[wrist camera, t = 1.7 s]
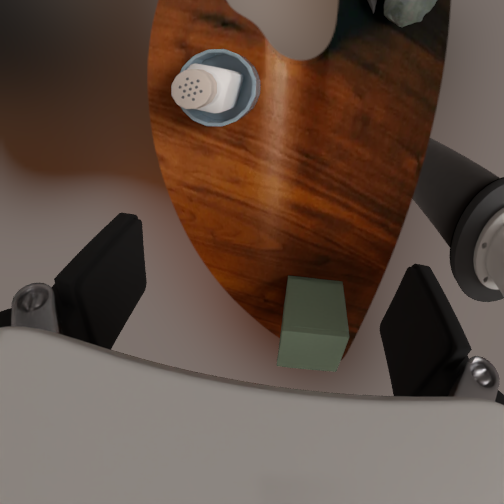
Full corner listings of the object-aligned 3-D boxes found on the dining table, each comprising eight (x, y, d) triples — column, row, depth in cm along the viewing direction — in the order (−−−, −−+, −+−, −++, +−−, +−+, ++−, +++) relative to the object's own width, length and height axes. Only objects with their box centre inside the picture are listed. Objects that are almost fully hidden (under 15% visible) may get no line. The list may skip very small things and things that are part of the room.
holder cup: (262, 52, 26) (257, 49, 23) (258, 123, 30) (254, 127, 27) (188, 54, 26) (176, 51, 24) (187, 121, 30) (176, 126, 28)
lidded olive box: (342, 281, 38) (349, 337, 29) (333, 315, 41) (336, 371, 33) (288, 275, 39) (282, 330, 30) (283, 310, 42) (276, 366, 33)
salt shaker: (199, 100, 29) (160, 109, 21) (208, 65, 27) (172, 59, 19) (235, 109, 29) (209, 120, 21) (246, 73, 27) (223, 69, 19)
